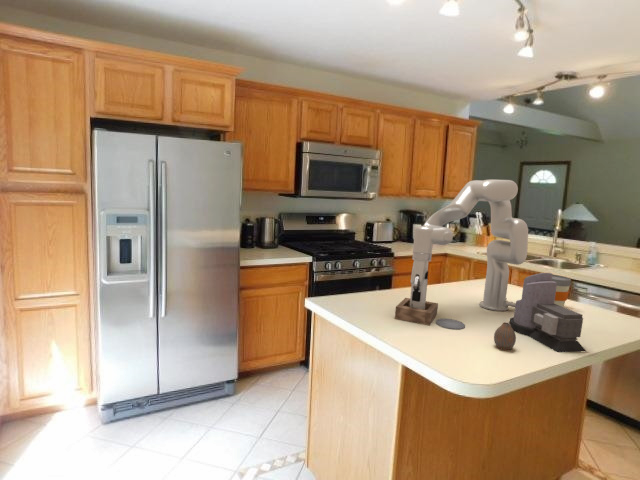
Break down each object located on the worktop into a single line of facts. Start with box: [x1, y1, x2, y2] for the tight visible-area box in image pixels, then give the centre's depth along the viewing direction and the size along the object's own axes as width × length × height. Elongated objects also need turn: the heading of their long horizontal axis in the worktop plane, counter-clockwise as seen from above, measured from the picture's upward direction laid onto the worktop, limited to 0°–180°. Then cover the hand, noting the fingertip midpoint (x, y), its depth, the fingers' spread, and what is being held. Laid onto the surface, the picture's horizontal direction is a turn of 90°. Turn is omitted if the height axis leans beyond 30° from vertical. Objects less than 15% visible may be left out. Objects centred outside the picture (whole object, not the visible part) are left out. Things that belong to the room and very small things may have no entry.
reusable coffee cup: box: [552, 274, 572, 308], centre depth 195 cm, size 13×13×15 cm
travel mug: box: [410, 270, 429, 310], centre depth 170 cm, size 6×7×20 cm
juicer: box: [508, 272, 587, 353], centre depth 155 cm, size 30×16×24 cm, turn 12°
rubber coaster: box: [435, 318, 466, 331], centre depth 164 cm, size 11×11×1 cm
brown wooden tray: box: [394, 297, 439, 326], centre depth 171 cm, size 14×16×5 cm
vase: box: [493, 322, 517, 351], centre depth 142 cm, size 7×7×9 cm
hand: (417, 298), depth 170 cm, fingers closed on travel mug, 6 cm apart
